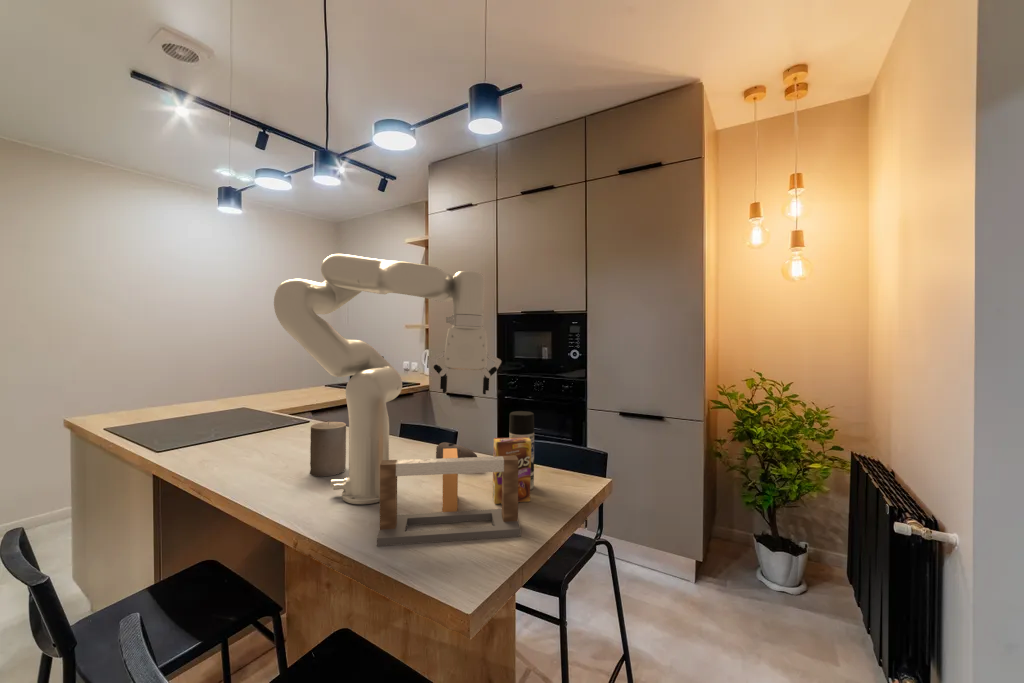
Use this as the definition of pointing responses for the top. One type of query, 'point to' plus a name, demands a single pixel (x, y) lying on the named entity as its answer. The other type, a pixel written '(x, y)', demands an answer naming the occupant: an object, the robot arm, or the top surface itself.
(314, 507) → the top surface
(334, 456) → the pillar candle
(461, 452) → the perforated stone tool
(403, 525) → the crossbar rack
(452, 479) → the orange angular block
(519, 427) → the spray can
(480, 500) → the top surface
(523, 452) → the candy box
